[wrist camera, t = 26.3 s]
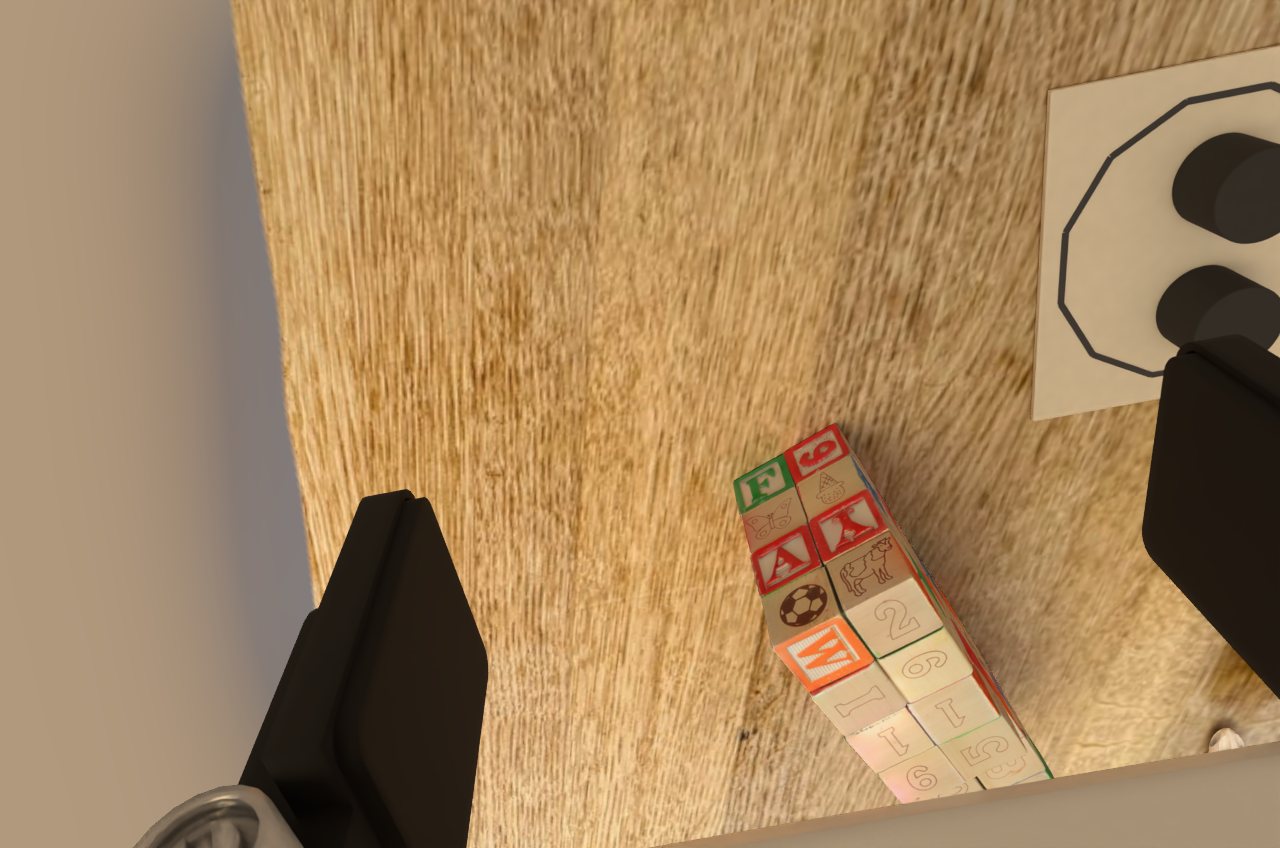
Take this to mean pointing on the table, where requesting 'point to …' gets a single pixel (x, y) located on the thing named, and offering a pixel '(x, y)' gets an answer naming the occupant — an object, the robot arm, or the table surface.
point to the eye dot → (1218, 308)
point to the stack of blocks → (875, 629)
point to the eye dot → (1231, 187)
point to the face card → (1134, 221)
